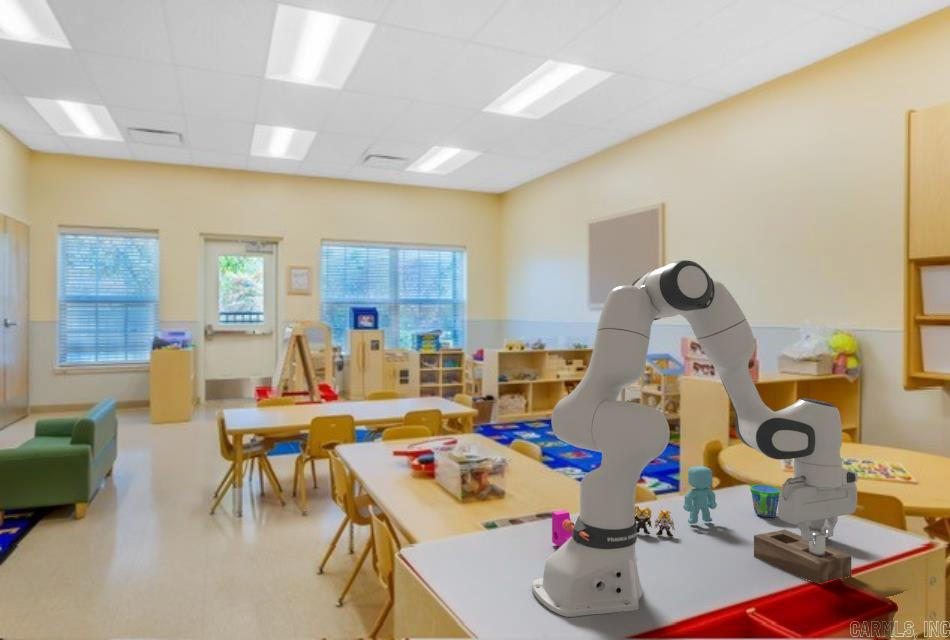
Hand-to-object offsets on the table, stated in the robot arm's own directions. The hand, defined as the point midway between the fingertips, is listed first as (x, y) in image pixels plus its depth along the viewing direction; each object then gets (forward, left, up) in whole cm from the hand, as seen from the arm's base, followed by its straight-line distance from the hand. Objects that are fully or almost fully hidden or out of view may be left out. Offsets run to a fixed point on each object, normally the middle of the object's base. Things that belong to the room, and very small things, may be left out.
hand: (817, 538), depth 120 cm
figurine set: (-19, +34, -8) cm, 40 cm away
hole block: (0, +4, -8) cm, 9 cm away
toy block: (-41, +30, -8) cm, 51 cm away
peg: (0, 0, -8) cm, 8 cm away
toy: (0, +34, -8) cm, 35 cm away
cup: (+19, +14, -8) cm, 25 cm away
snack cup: (+22, +32, -8) cm, 40 cm away
